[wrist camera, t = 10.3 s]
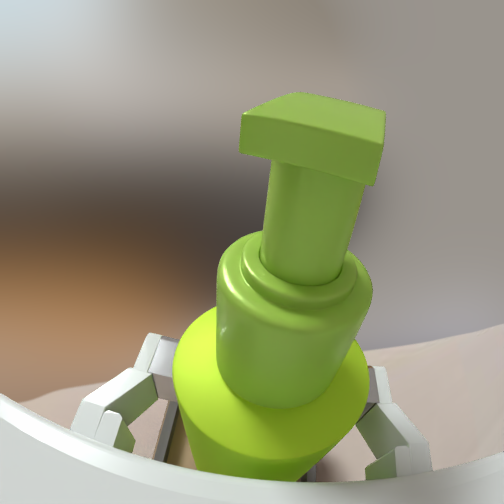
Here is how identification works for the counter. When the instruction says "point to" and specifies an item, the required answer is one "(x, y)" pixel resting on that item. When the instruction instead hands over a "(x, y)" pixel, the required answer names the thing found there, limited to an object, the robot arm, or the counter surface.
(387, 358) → the counter surface
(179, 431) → the stool
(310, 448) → the soap dispenser
